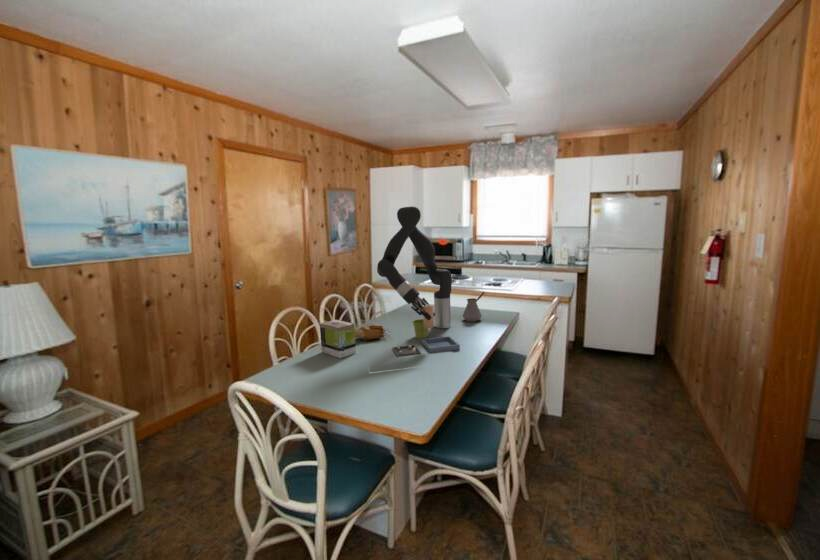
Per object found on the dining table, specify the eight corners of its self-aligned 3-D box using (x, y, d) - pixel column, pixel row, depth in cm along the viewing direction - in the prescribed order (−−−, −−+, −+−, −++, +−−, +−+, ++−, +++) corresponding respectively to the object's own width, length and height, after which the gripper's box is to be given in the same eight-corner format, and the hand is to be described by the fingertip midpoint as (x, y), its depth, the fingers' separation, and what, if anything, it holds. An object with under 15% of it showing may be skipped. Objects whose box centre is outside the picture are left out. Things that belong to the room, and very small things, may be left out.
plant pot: (430, 334, 213) (430, 319, 212) (430, 340, 204) (429, 323, 203) (413, 334, 214) (413, 319, 213) (412, 340, 205) (411, 323, 203)
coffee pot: (475, 323, 232) (475, 298, 229) (459, 321, 239) (458, 296, 237) (492, 315, 248) (492, 292, 246) (476, 313, 255) (476, 290, 253)
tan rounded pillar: (422, 325, 191) (421, 303, 189) (432, 324, 192) (431, 302, 191) (425, 328, 186) (424, 306, 185) (435, 327, 188) (434, 305, 186)
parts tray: (392, 349, 191) (392, 345, 191) (414, 347, 193) (414, 343, 193) (397, 357, 180) (397, 352, 180) (420, 354, 183) (420, 350, 182)
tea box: (357, 353, 188) (355, 323, 186) (339, 359, 181) (337, 327, 178) (337, 347, 198) (335, 318, 196) (320, 352, 191) (318, 322, 189)
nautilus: (398, 338, 210) (382, 348, 197) (365, 331, 220) (348, 341, 207) (397, 324, 208) (382, 333, 195) (364, 318, 218) (347, 326, 205)
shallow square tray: (421, 343, 198) (421, 339, 198) (449, 340, 201) (449, 336, 201) (430, 353, 184) (430, 348, 184) (459, 349, 187) (459, 344, 187)
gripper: (406, 289, 182) (432, 316, 180) (417, 284, 196) (441, 308, 193) (397, 300, 185) (422, 326, 183) (408, 294, 198) (432, 318, 196)
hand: (432, 317), depth 188 cm, fingers closed on tan rounded pillar, 5 cm apart
